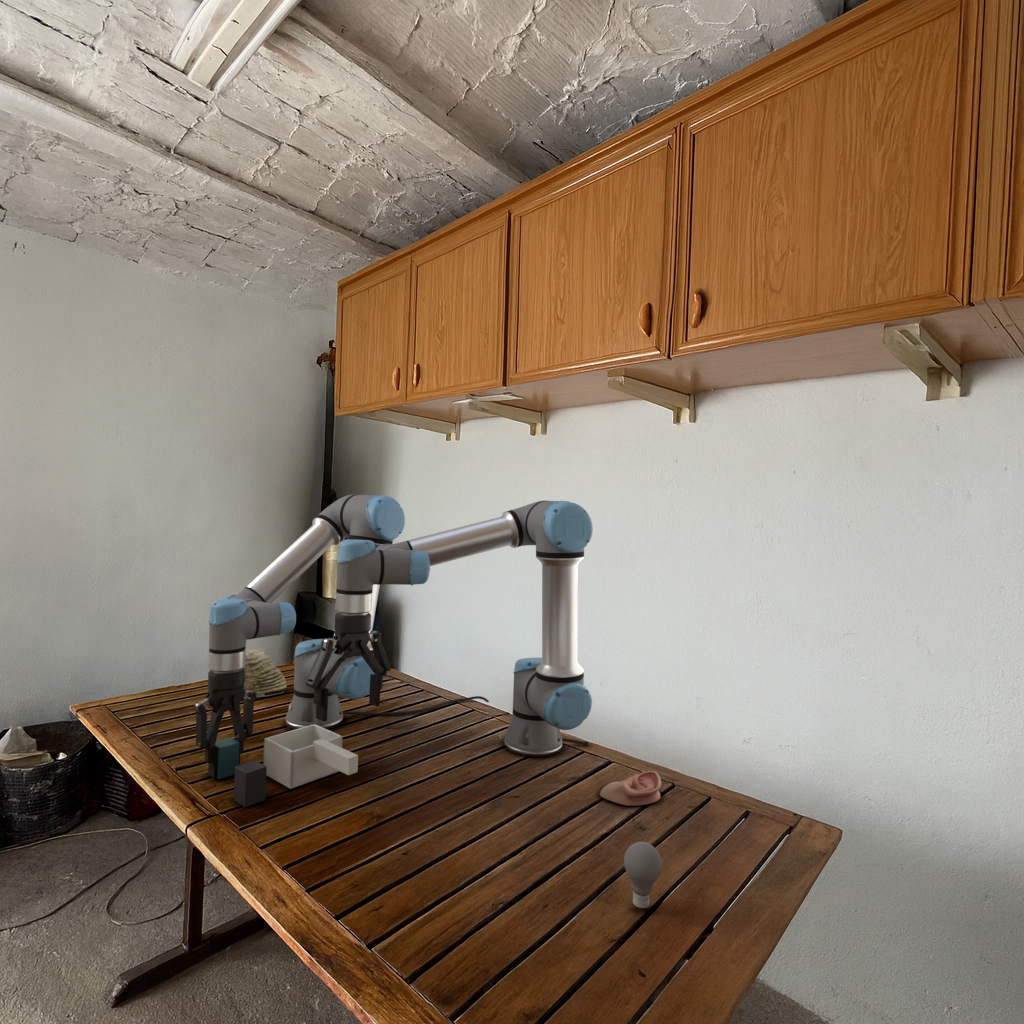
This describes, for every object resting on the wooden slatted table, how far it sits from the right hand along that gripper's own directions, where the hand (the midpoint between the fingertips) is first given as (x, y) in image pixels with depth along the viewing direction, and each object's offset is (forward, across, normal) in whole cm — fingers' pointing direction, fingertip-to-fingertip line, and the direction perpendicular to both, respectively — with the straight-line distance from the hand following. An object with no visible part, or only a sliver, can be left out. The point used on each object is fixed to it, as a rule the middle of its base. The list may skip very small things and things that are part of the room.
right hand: (348, 712), depth 135 cm
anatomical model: (+18, -43, +45) cm, 65 cm away
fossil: (+18, -21, -75) cm, 80 cm away
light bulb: (+18, -9, +65) cm, 68 cm away
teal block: (+18, +13, -27) cm, 35 cm away
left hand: (+17, +13, -27) cm, 35 cm away
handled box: (+18, 0, -10) cm, 20 cm away
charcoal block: (+18, +15, -12) cm, 26 cm away
